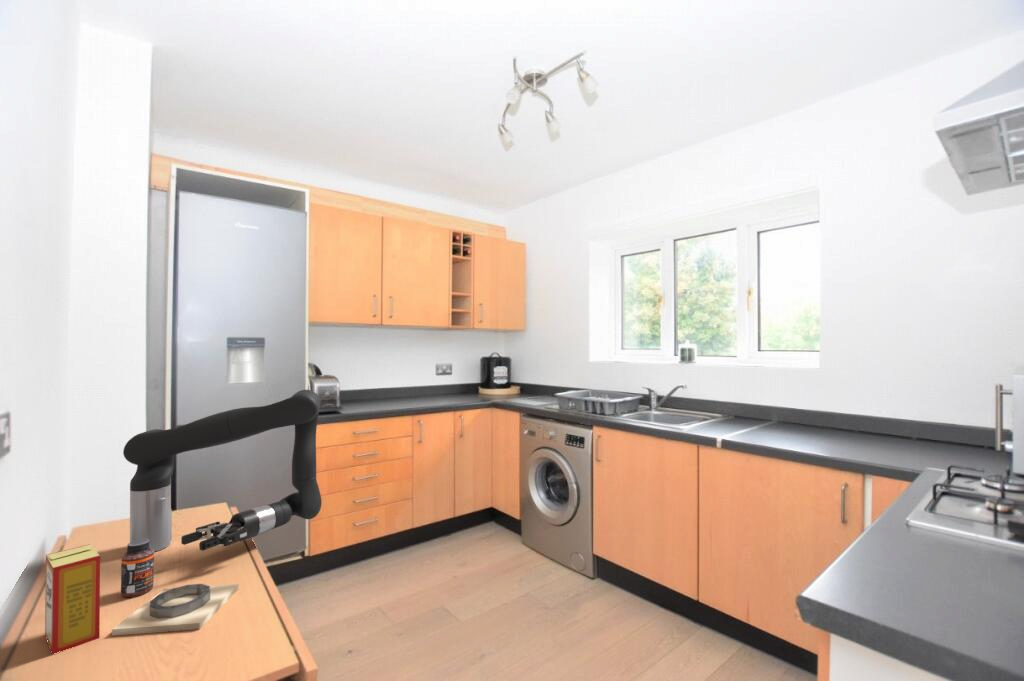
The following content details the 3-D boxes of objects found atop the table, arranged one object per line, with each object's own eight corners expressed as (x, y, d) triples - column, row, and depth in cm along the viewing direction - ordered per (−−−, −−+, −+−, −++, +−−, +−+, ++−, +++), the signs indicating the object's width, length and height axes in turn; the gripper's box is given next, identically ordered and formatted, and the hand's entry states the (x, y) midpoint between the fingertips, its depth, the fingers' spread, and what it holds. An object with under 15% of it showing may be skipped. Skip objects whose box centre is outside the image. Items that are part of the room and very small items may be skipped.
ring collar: (169, 594, 104) (169, 585, 105) (219, 590, 106) (219, 582, 106) (137, 620, 94) (137, 611, 94) (192, 616, 95) (192, 607, 95)
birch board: (164, 594, 107) (164, 588, 107) (238, 589, 109) (238, 583, 109) (112, 635, 91) (112, 629, 91) (199, 629, 93) (199, 623, 93)
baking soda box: (99, 637, 90) (100, 553, 91) (52, 655, 85) (53, 566, 86) (89, 621, 96) (90, 542, 97) (45, 636, 91) (45, 553, 92)
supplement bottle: (135, 599, 105) (135, 548, 105) (113, 597, 106) (114, 546, 106) (160, 586, 111) (160, 538, 111) (139, 584, 112) (139, 536, 112)
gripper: (238, 505, 136) (176, 524, 122) (268, 512, 129) (206, 533, 115) (238, 531, 136) (176, 553, 121) (269, 540, 129) (206, 564, 115)
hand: (191, 543), depth 118 cm, fingers open, 8 cm apart
